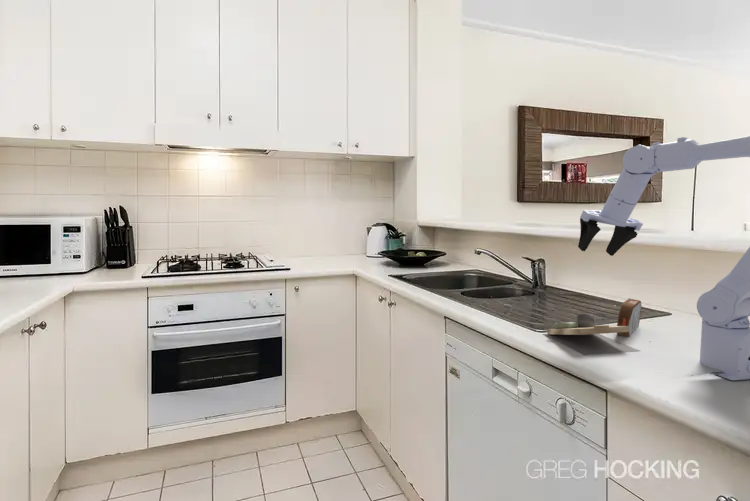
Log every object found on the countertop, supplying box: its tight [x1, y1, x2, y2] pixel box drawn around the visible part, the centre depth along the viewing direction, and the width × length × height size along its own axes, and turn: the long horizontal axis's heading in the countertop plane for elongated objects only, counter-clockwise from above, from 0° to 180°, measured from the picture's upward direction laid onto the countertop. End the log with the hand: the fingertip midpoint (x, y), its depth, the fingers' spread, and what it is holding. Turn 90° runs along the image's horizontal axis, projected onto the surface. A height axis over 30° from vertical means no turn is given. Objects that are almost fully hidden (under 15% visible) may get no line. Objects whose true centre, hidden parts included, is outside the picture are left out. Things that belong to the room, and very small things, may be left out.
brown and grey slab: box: [616, 297, 642, 338], centre depth 113 cm, size 15×3×8 cm, turn 141°
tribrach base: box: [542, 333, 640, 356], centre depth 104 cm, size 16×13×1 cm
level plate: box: [546, 313, 630, 335], centre depth 105 cm, size 14×11×4 cm
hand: (595, 251), depth 109 cm, fingers open, 7 cm apart
